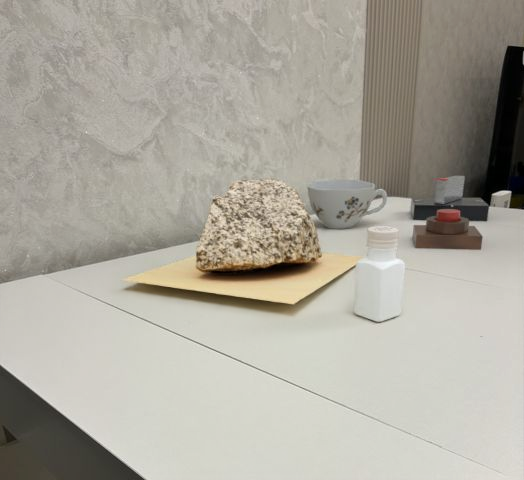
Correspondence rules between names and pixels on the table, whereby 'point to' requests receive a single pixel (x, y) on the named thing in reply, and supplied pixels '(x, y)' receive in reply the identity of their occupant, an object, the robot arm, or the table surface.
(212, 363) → the table surface
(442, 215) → the button
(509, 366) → the table surface
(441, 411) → the table surface
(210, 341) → the table surface
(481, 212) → the faucet plate
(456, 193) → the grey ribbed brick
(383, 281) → the salt shaker
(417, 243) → the button block
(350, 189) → the teacup
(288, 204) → the rock
